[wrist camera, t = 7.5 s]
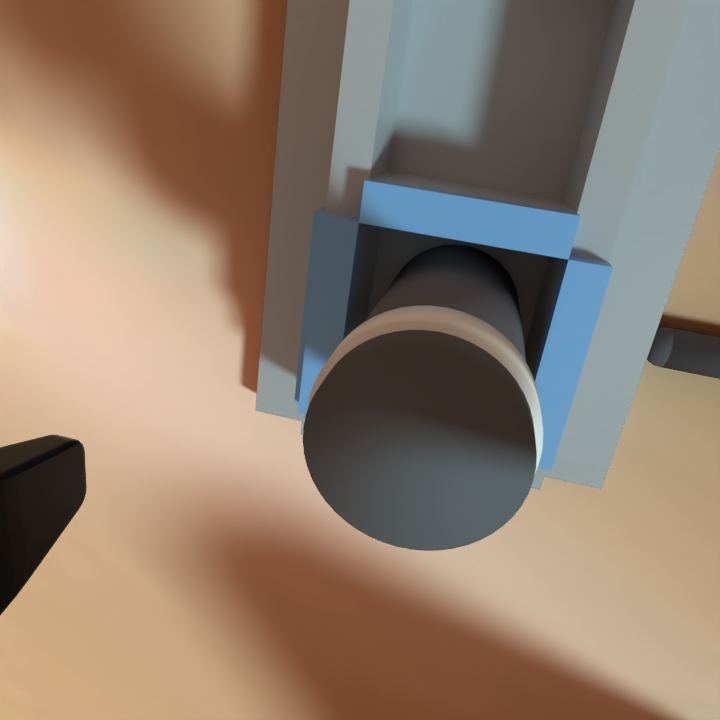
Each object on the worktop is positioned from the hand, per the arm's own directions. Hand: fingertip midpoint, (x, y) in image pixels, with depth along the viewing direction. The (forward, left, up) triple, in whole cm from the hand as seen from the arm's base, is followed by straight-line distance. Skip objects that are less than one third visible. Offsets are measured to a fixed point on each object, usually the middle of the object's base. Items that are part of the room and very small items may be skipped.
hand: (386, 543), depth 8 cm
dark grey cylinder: (0, 0, -12) cm, 12 cm away
